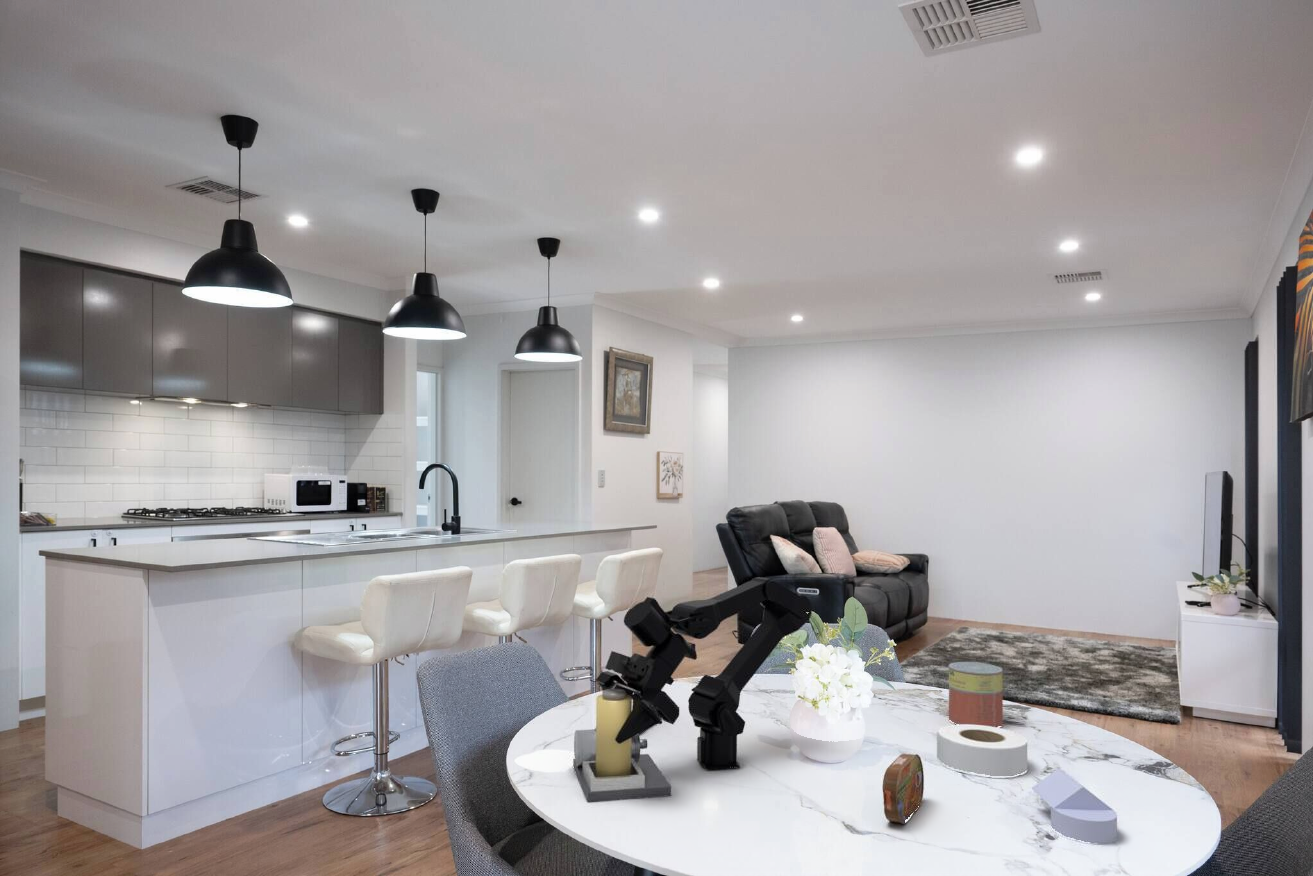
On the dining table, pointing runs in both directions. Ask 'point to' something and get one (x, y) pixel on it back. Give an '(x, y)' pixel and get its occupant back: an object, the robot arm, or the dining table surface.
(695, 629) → the robot arm
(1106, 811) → the wedge on round base
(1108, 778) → the dining table surface
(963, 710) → the canned food
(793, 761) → the dining table surface
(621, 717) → the bottle
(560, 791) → the dining table surface
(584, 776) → the motor mount
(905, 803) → the tin
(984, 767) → the roll of tape
